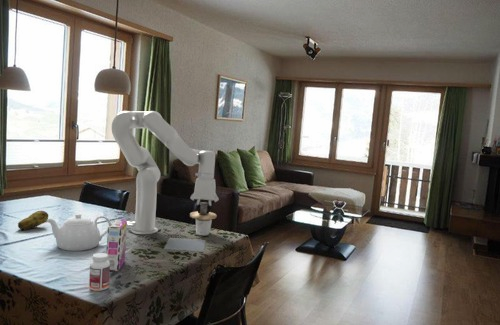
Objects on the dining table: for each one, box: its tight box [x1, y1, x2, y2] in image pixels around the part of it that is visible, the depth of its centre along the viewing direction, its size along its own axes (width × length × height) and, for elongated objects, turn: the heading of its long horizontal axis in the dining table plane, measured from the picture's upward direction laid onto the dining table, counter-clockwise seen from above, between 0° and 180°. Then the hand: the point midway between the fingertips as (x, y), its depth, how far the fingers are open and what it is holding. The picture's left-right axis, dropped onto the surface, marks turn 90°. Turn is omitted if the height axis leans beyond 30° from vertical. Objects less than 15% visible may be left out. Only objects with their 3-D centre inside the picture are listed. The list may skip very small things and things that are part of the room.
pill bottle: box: [88, 252, 111, 292], centre depth 136 cm, size 6×6×11 cm
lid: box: [189, 201, 217, 220], centre depth 204 cm, size 13×13×7 cm
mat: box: [163, 237, 207, 253], centre depth 188 cm, size 17×17×1 cm
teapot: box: [45, 213, 112, 252], centre depth 176 cm, size 19×18×14 cm
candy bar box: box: [106, 219, 128, 272], centre depth 156 cm, size 11×5×16 cm, turn 5°
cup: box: [195, 219, 213, 236], centre depth 205 cm, size 11×8×8 cm
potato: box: [17, 210, 49, 230], centre depth 194 cm, size 8×13×8 cm, turn 124°
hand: (203, 212), depth 205 cm, fingers closed on lid, 4 cm apart
